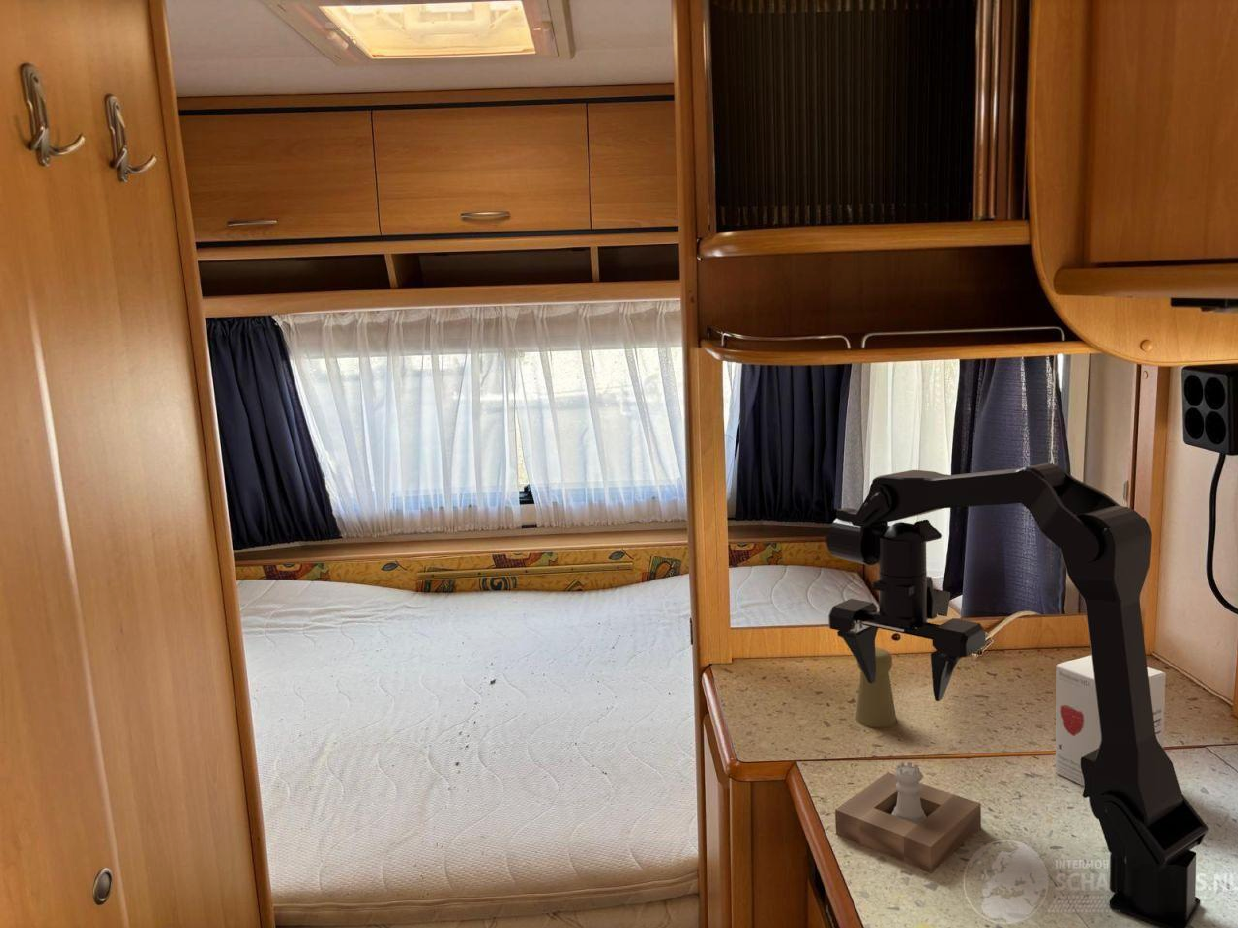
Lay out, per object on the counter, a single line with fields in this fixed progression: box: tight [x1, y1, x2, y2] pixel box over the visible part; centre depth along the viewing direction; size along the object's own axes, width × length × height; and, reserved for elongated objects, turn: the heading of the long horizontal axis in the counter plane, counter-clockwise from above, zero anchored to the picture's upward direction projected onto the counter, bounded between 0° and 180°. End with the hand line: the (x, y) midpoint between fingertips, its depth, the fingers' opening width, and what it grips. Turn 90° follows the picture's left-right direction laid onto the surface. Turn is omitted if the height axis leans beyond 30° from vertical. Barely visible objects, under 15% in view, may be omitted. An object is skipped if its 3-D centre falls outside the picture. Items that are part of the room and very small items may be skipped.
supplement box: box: [1055, 655, 1167, 788], centre depth 112 cm, size 9×9×15 cm
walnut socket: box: [834, 771, 982, 873], centre depth 104 cm, size 12×12×3 cm
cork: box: [855, 646, 897, 728], centre depth 134 cm, size 6×6×11 cm
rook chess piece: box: [891, 761, 926, 824], centre depth 103 cm, size 4×4×8 cm
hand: (904, 691), depth 112 cm, fingers open, 9 cm apart
